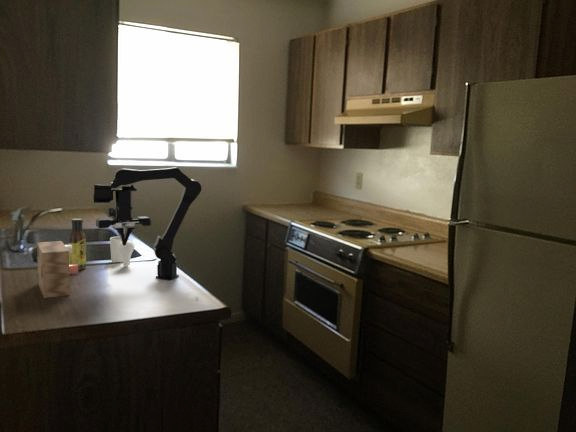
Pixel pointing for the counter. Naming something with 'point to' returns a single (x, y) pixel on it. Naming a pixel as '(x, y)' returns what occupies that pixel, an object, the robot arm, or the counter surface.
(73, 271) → the salmon pink cylinder
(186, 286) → the counter surface
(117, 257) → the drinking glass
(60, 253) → the wooden block
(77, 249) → the sauce bottle
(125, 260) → the lightbulb
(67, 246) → the ivory button
